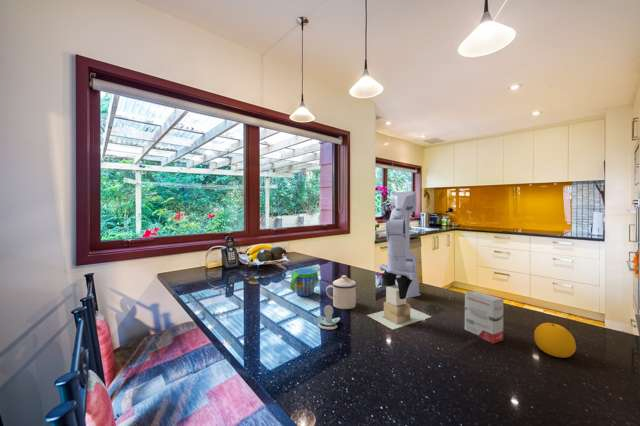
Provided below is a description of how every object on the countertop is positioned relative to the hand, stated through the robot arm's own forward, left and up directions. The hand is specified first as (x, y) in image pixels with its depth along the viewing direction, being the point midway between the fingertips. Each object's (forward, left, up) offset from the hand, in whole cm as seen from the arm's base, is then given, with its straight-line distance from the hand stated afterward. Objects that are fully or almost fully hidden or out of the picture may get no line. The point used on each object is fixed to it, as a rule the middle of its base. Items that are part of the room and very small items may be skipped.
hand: (396, 296), depth 85 cm
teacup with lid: (+9, -20, -8) cm, 23 cm away
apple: (-20, +34, -8) cm, 40 cm away
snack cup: (+15, -39, -8) cm, 43 cm away
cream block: (0, 0, -2) cm, 2 cm away
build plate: (-2, -1, -8) cm, 8 cm away
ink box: (-14, +20, -8) cm, 26 cm away
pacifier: (+22, -8, -8) cm, 25 cm away
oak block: (0, 0, -7) cm, 7 cm away
